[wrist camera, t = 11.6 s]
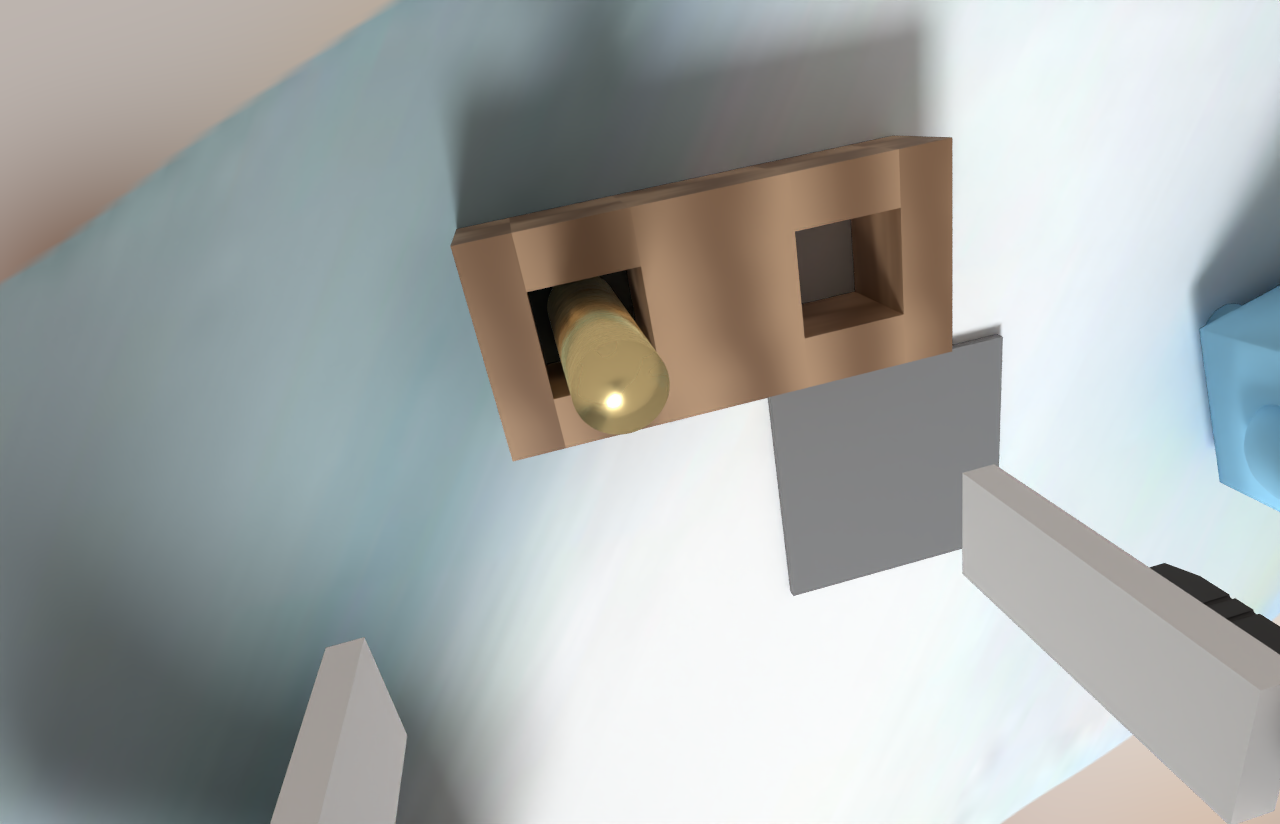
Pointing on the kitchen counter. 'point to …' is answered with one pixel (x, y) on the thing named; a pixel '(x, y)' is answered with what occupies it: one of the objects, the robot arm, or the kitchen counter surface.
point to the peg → (606, 358)
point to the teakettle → (1246, 394)
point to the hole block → (724, 281)
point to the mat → (883, 462)
